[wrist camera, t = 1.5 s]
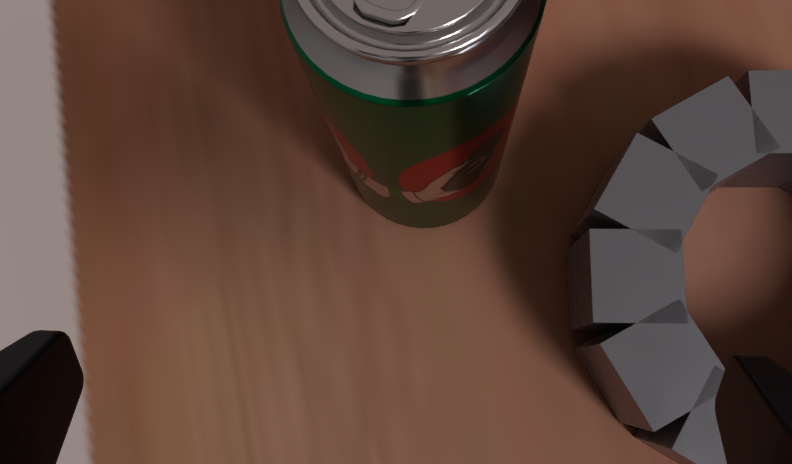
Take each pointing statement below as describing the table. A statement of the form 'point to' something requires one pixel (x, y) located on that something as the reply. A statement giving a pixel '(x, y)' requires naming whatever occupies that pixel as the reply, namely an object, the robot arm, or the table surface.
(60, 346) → the robot arm
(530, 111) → the table surface
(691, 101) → the ring
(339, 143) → the soda can
